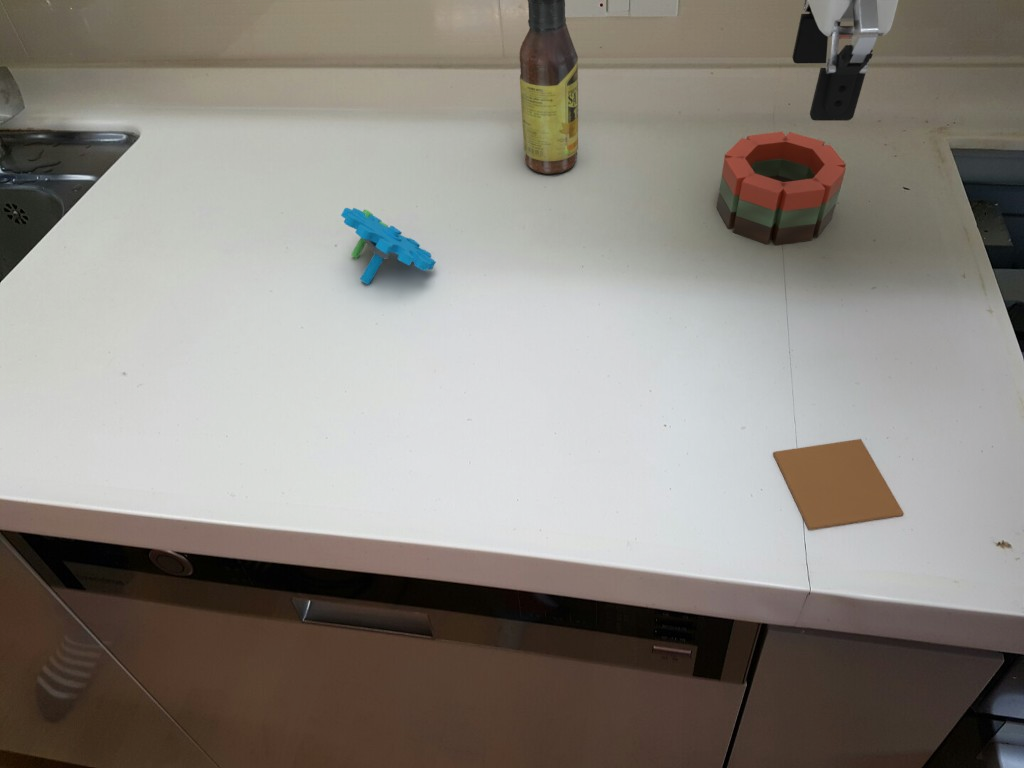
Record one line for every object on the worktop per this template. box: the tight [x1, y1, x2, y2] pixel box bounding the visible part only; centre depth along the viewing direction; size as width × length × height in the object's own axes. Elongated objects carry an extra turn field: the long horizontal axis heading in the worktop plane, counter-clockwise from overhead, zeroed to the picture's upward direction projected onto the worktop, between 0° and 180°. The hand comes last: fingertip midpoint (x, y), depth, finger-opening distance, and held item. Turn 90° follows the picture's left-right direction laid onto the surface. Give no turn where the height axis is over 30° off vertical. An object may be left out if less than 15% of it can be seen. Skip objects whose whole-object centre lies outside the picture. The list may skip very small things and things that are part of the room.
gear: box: [340, 207, 437, 285], centre depth 77 cm, size 11×6×10 cm
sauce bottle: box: [519, 0, 579, 175], centre depth 84 cm, size 7×6×20 cm
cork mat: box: [772, 438, 905, 531], centre depth 58 cm, size 7×7×1 cm
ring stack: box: [716, 158, 842, 246], centre depth 81 cm, size 11×11×4 cm
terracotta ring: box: [721, 131, 847, 211], centre depth 79 cm, size 11×11×2 cm
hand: (820, 88), depth 65 cm, fingers open, 9 cm apart
